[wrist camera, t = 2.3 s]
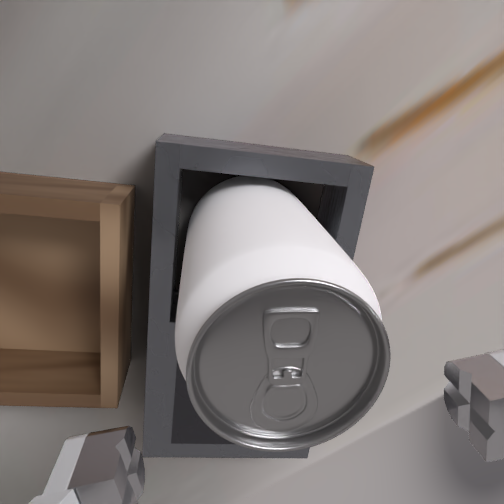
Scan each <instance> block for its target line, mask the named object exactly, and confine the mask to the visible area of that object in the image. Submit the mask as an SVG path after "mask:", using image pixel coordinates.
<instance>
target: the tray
mask: <svg viewBox="0 0 504 504" xmlns="http://www.w3.org/2000/svg"><path fill="white" fill-rule="evenodd" d="M183 169H188V170H198V171H207V172H216V173H225V174H235V175H244V176H253V177H262V178H271V179H281V180H290V181H299V182H308V183H318V184H324V187H323V192H322V197H321V203H320V208H319V213H318V219H317V221H318V222H319V223H320V224H321V225H322V226H323V228H324V229H325V230H326V231H327V232H328V233H329V234H330V235H331V237H332V238H333V239H334V240H335V241H336V242H337V244H338V245H339V246H340V247H341V248H342V249H343V250H344V252H345V253H346V254H347V255H348V256H349V257H350V259H351V260H352V261H353V257H354V253H355V249H356V244H357V240H358V235H359V231H360V227H361V222H362V218H363V214H364V209H365V205H366V201H367V196H368V192H369V188H370V183H371V179H372V175H373V170H374V166H372V165H369V164H367V163H365V162H362V161H360V160H358V159H355V158H353V157H351V156H348V155H340V154H332V153H323V152H315V151H307V150H298V149H290V148H282V147H273V146H265V145H257V144H248V143H240V142H232V141H223V140H215V139H207V138H198V137H190V136H182V135H173V134H165V133H164V134H163V135H162V136H161V137H160V138H159V139H158V140H157V141H156V152H155V176H154V199H153V222H152V245H151V268H150V292H149V315H148V338H147V361H146V384H145V408H144V431H143V454H142V457H206V458H307V457H308V453H309V449H310V447H309V448H305V449H300V450H294V451H285V452H269V451H260V450H254V449H249V448H246V447H242V446H240V445H237V444H234V443H232V442H230V441H228V440H226V439H224V438H223V437H221V436H220V435H218V434H217V433H215V432H214V431H213V430H212V429H210V428H209V427H208V426H207V425H206V424H205V423H204V422H203V420H202V419H201V418H200V417H199V415H198V414H197V412H196V410H195V409H194V407H193V405H192V403H191V400H190V397H189V394H188V390H187V385H186V381H185V379H184V377H183V375H182V372H181V370H180V367H179V364H178V361H177V356H176V350H175V324H176V314H177V305H178V297H179V290H175V276H176V261H177V246H178V232H179V217H180V202H181V187H182V172H183Z"/></svg>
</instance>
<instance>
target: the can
mask: <svg viewBox="0 0 504 504" xmlns="http://www.w3.org/2000/svg"><path fill="white" fill-rule="evenodd" d="M175 350H176V356H177V361H178V364H179V367H180V370H181V372H182V375H183V377H184V379H185V381H186V385H187V390H188V394H189V397H190V400H191V403H192V405H193V407H194V409H195V410H196V412H197V414H198V415H199V417H200V418H201V419H202V420H203V422H204V423H205V424H206V425H207V426H208V427H209V428H210V429H212V430H213V431H214V432H215V433H217V434H218V435H220V436H221V437H223V438H224V439H226V440H228V441H230V442H232V443H234V444H237V445H240V446H242V447H246V448H249V449H254V450H260V451H269V452H285V451H294V450H300V449H305V448H309V447H312V446H316V445H318V444H321V443H324V442H326V441H328V440H331V439H333V438H335V437H336V436H338V435H340V434H342V433H343V432H345V431H346V430H348V429H349V428H351V427H352V426H353V425H354V424H356V423H357V422H358V421H359V420H360V419H361V418H362V417H363V416H364V415H365V414H366V413H367V412H368V411H369V410H370V408H371V407H372V406H373V405H374V403H375V402H376V400H377V399H378V397H379V395H380V393H381V392H382V390H383V387H384V385H385V382H386V380H387V376H388V372H389V367H390V344H389V339H388V336H387V332H386V330H385V327H384V325H383V323H382V317H381V311H380V307H379V303H378V300H377V297H376V295H375V293H374V291H373V289H372V287H371V285H370V284H369V282H368V280H367V279H366V277H365V276H364V275H363V273H362V272H361V271H360V270H359V268H358V267H357V266H356V264H355V263H354V262H353V261H352V260H351V259H350V257H349V256H348V255H347V254H346V253H345V252H344V250H343V249H342V248H341V247H340V246H339V245H338V244H337V242H336V241H335V240H334V239H333V238H332V237H331V235H330V234H329V233H328V232H327V231H326V230H325V229H324V228H323V226H322V225H321V224H320V223H319V222H318V221H317V220H316V218H315V217H314V216H313V215H312V214H311V213H310V212H309V211H308V209H307V208H306V207H305V206H304V205H303V204H302V203H301V202H300V201H299V200H298V198H297V197H296V196H295V195H294V194H293V193H292V192H291V191H289V190H288V189H287V188H286V187H284V186H283V185H281V184H279V183H278V182H276V181H273V180H271V179H268V178H262V177H253V176H240V177H235V178H231V179H228V180H225V181H223V182H221V183H219V184H217V185H216V186H214V187H213V188H211V189H210V190H209V191H208V192H207V193H206V194H205V195H204V196H203V197H202V198H201V199H200V200H199V202H198V203H197V205H196V207H195V208H194V210H193V213H192V215H191V218H190V221H189V225H188V231H187V237H186V244H185V251H184V258H183V266H182V273H181V281H180V289H179V297H178V305H177V314H176V324H175Z"/></svg>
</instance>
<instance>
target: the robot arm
mask: <svg viewBox="0 0 504 504" xmlns="http://www.w3.org/2000/svg"><path fill="white" fill-rule="evenodd" d="M444 375H445V376H446V377H447V379H448V380H449V383H448V384H447V386H446V387H445V388H444V400H445V404H446V407H447V410H448V412H449V414H450V416H451V418H452V419H453V421H454V422H455V423H456V425H457V426H458V427H460V428H462V429H464V430H466V431H468V432H469V441H470V443H471V444H472V445H473V446H474V448H475V449H476V450H477V451H478V452H479V454H480V455H481V456H482V457H483V459H484V460H485V461H486V462H490V461H495V460H501V459H504V349H502V350H497V351H493V352H488V353H484V354H481V355H476V356H472V357H467V358H462V359H457V360H452V361H448V362H446V365H445V368H444ZM135 440H136V437H135V434H134V431H133V429H132V427H130V426H125V427H120V428H114V429H108V430H103V431H97V432H91V433H89V434H82V435H77V436H71V437H69V438H68V439H67V440H66V441H65V442H64V444H63V447H62V449H61V451H60V454H59V456H58V458H57V461H56V463H55V466H54V468H53V470H52V473H51V475H50V477H49V480H48V482H47V484H46V487H45V489H44V492H43V494H42V495H40V496H36V497H35V498H33V499H32V500H31V501H30V502H29V503H28V504H138V502H137V500H138V498H139V497H140V496H141V495H142V493H143V490H144V483H145V469H144V463H143V458H142V455H141V452H140V451H139V450H138V449H136V448H135V447H134V445H135Z"/></svg>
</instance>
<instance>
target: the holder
mask: <svg viewBox="0 0 504 504" xmlns="http://www.w3.org/2000/svg"><path fill="white" fill-rule="evenodd" d="M134 209H135V185H126V184H116V183H106V182H96V181H86V180H76V179H66V178H56V177H46V176H36V175H27V174H17V173H7V172H0V405H3V406H45V407H87V408H117V407H118V404H119V400H120V397H121V393H122V390H123V386H124V382H125V379H126V375H127V372H128V368H129V365H130V359H131V322H132V284H133V247H134Z"/></svg>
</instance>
